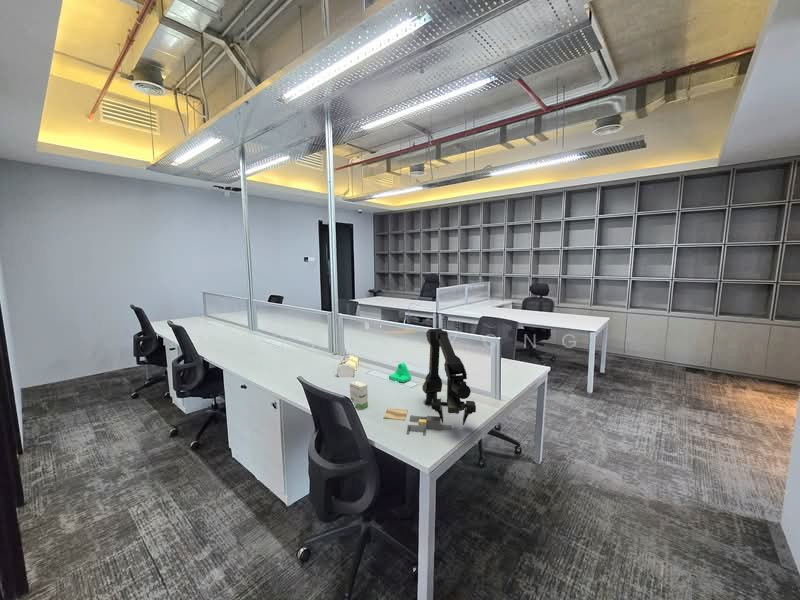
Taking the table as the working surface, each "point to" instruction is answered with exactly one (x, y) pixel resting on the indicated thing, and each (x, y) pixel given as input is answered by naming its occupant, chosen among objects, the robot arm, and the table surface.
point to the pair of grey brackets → (416, 427)
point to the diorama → (348, 366)
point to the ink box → (359, 394)
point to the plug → (433, 423)
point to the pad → (395, 414)
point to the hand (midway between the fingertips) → (453, 423)
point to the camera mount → (401, 373)
